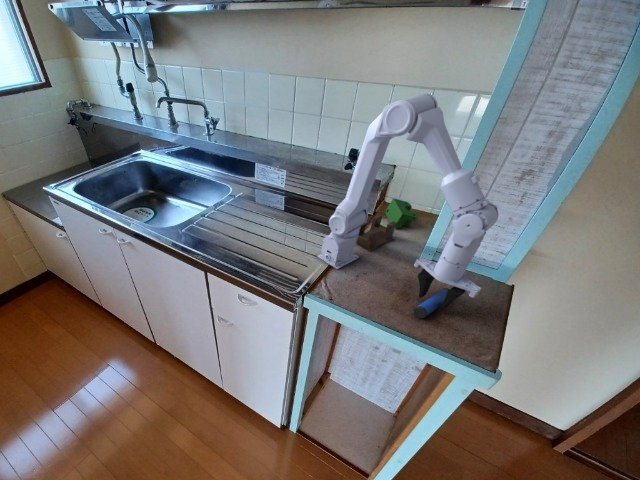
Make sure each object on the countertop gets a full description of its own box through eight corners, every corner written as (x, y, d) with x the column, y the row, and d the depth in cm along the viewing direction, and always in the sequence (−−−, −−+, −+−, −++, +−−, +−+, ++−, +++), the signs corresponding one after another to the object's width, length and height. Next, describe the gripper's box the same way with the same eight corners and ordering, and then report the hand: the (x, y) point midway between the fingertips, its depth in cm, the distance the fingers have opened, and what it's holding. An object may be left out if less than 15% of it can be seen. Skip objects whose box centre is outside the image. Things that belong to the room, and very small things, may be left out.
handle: (420, 320, 78) (428, 314, 76) (410, 311, 79) (418, 305, 77) (447, 300, 83) (455, 294, 81) (438, 292, 84) (446, 285, 82)
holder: (369, 251, 99) (374, 234, 95) (351, 241, 103) (356, 224, 99) (391, 239, 104) (397, 222, 100) (373, 230, 108) (378, 214, 104)
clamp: (401, 238, 112) (419, 222, 104) (386, 234, 111) (402, 218, 103) (400, 210, 117) (417, 193, 108) (385, 206, 116) (401, 189, 108)
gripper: (499, 267, 68) (469, 311, 78) (435, 237, 77) (415, 280, 86) (482, 279, 65) (453, 324, 75) (417, 247, 74) (398, 291, 84)
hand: (431, 302), depth 80 cm, fingers open, 5 cm apart
